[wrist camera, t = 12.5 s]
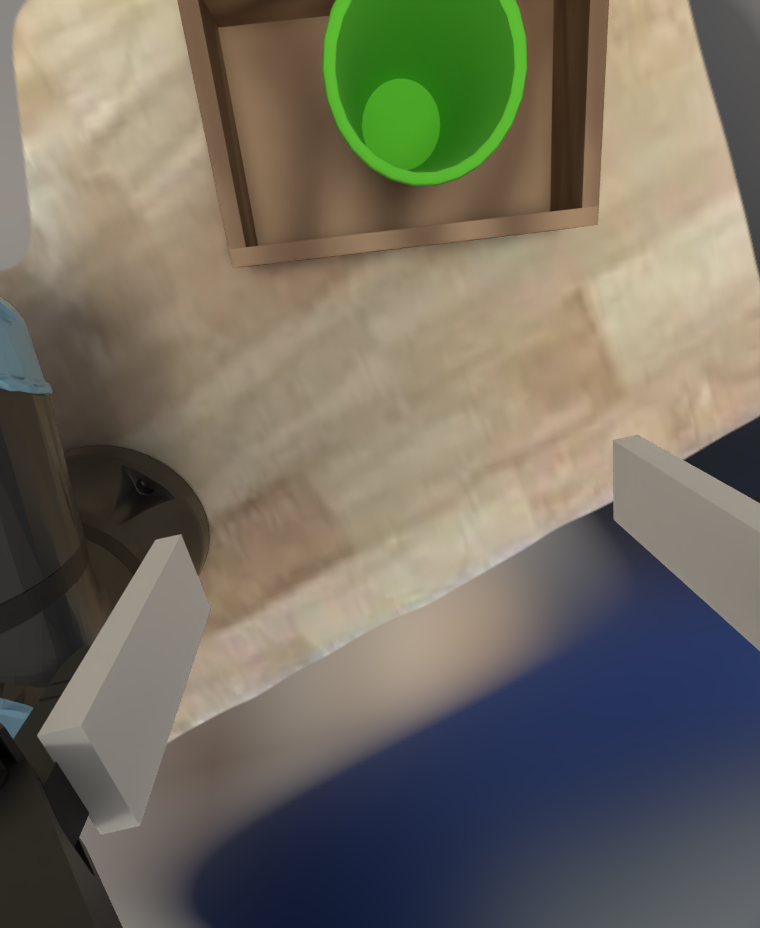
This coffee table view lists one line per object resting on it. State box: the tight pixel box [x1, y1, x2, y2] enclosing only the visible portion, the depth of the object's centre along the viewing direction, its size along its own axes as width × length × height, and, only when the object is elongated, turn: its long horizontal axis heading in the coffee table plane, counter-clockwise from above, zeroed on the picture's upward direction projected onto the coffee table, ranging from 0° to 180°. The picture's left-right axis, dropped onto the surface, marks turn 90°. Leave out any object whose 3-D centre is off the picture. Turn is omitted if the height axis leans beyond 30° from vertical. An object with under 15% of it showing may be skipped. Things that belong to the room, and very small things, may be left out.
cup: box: [322, 0, 527, 186], centre depth 27 cm, size 9×9×11 cm
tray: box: [178, 0, 609, 268], centre depth 30 cm, size 22×14×6 cm, turn 96°
